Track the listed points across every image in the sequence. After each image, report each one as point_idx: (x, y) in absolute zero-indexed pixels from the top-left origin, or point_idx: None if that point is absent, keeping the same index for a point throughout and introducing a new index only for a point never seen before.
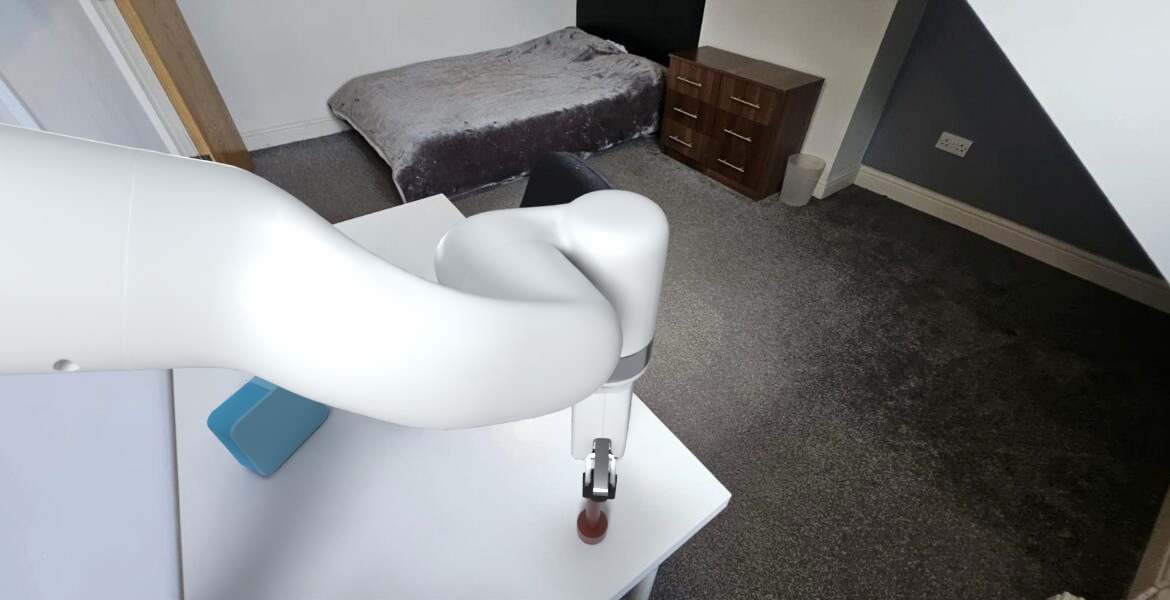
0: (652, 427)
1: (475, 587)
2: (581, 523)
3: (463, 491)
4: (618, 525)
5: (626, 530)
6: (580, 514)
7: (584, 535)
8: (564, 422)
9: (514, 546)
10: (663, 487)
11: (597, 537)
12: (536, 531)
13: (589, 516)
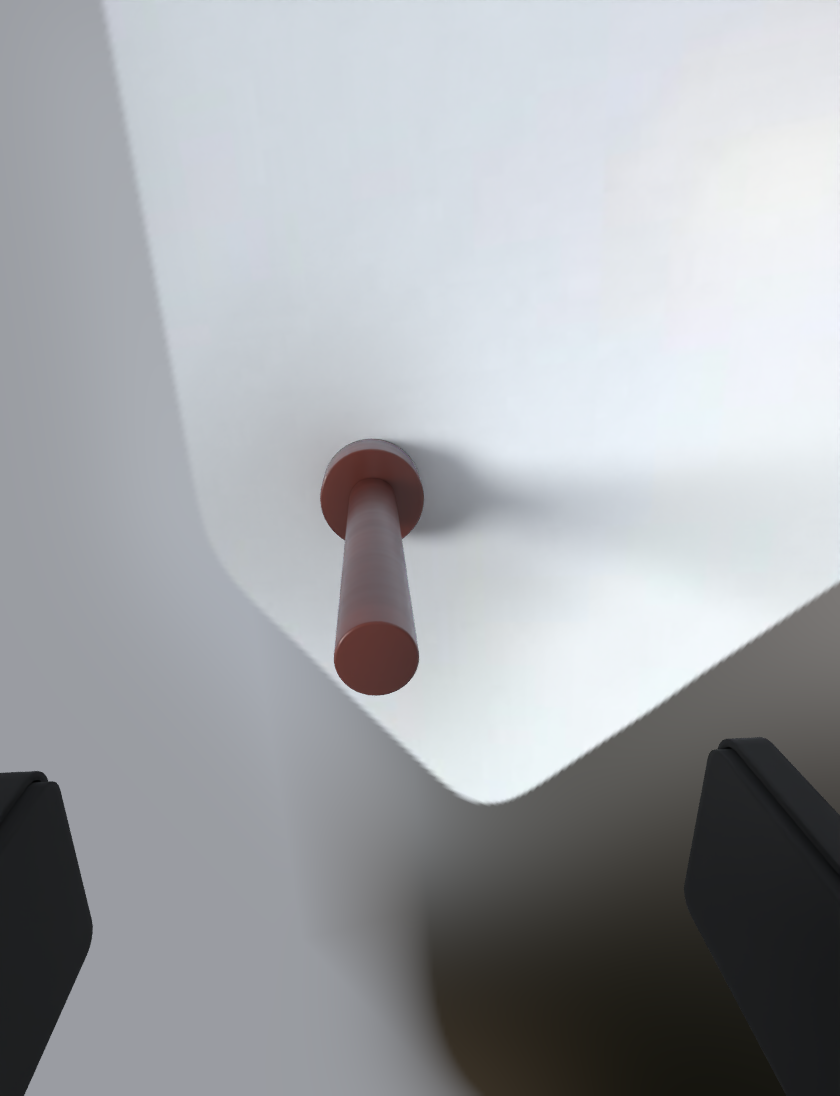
0: (712, 658)
1: (129, 89)
2: (365, 464)
3: None
4: None
5: None
6: (396, 458)
7: (327, 477)
8: (768, 360)
9: (288, 222)
10: (511, 684)
11: (326, 518)
12: (347, 299)
13: (350, 515)
